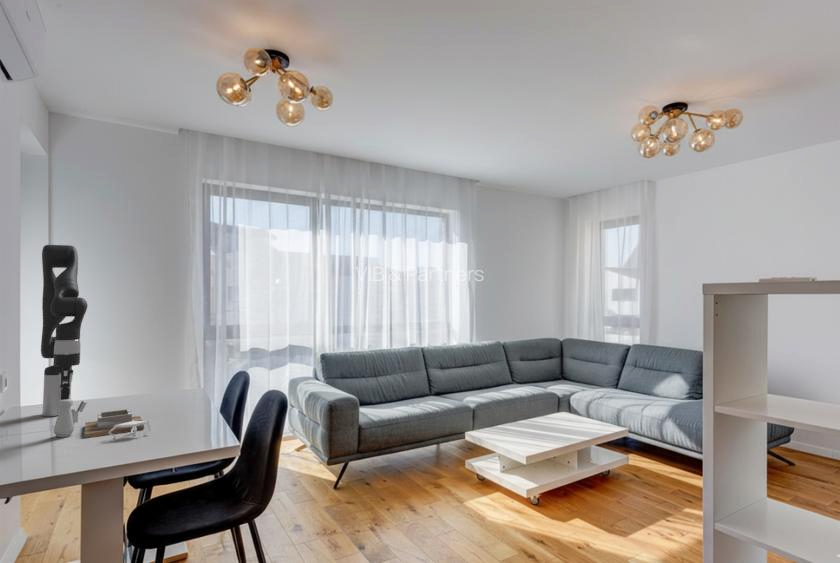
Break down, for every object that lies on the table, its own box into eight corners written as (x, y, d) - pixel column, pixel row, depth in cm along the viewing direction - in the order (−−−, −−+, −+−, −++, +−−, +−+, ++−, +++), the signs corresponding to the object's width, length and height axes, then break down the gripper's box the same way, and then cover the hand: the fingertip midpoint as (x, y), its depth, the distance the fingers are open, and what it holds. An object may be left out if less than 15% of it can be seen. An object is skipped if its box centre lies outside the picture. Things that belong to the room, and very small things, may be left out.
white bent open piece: (143, 431, 166) (143, 417, 167) (151, 435, 161) (151, 421, 161) (105, 438, 157) (106, 424, 158) (112, 443, 152) (113, 428, 152)
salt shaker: (55, 439, 155) (57, 402, 156) (51, 436, 159) (52, 399, 159) (76, 435, 160) (77, 399, 161) (71, 432, 163) (72, 397, 164)
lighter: (65, 424, 174) (66, 404, 175) (63, 423, 175) (64, 403, 176) (86, 420, 181) (87, 400, 181) (84, 419, 181) (85, 400, 182)
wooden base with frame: (84, 426, 172) (85, 412, 172) (139, 419, 182) (140, 405, 183) (84, 437, 157) (85, 422, 158) (144, 429, 168) (144, 414, 168)
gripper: (55, 351, 164) (53, 395, 163) (52, 354, 153) (50, 402, 152) (80, 350, 169) (78, 393, 168) (79, 353, 157) (77, 399, 156)
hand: (65, 397), depth 160 cm, fingers open, 8 cm apart
